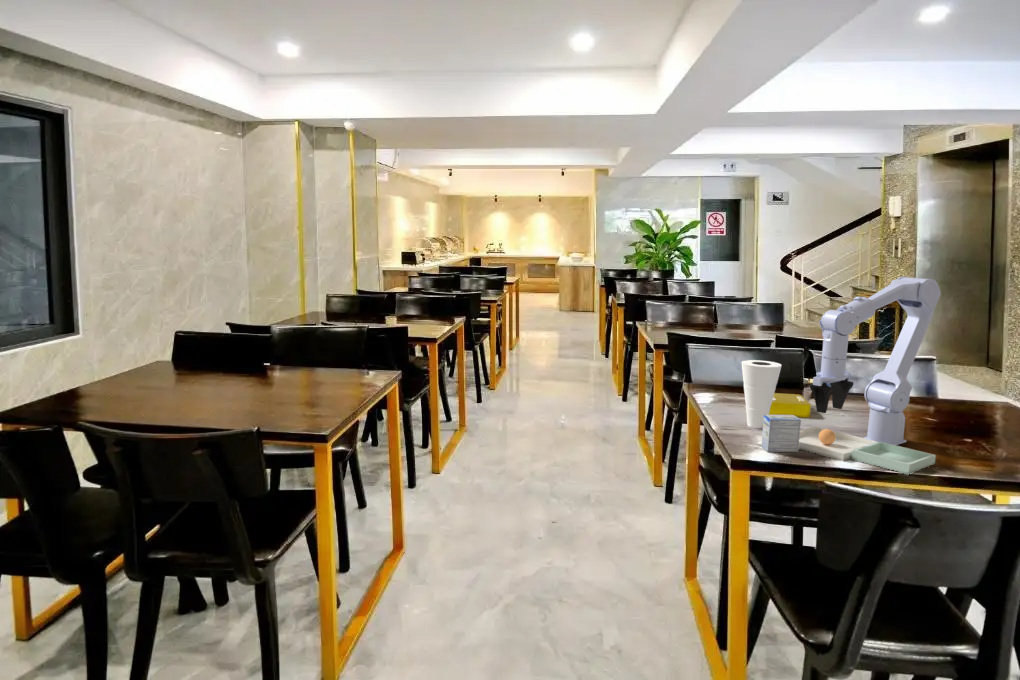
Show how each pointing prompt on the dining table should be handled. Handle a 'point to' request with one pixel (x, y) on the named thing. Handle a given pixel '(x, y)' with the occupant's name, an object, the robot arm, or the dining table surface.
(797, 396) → the element tile
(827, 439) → the ball
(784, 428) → the medicine box
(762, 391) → the white paper towel roll
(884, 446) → the dish
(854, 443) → the tray
